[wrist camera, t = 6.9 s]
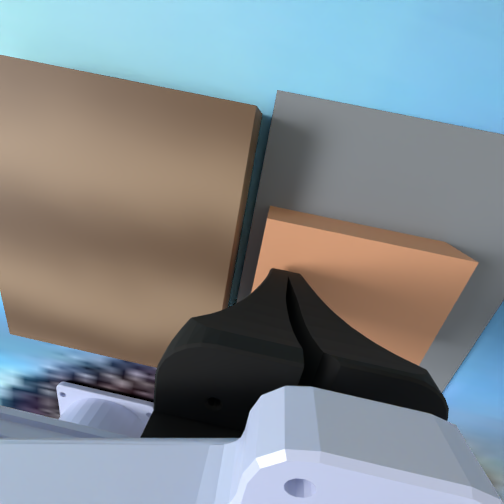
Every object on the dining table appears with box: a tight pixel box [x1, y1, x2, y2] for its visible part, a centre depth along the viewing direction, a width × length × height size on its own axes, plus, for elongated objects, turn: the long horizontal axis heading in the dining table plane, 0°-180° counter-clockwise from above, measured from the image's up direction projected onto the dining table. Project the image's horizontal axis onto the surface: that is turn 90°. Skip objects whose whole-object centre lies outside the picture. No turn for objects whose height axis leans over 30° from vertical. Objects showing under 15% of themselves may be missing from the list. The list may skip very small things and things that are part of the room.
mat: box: [236, 90, 504, 393], centre depth 15 cm, size 16×14×1 cm
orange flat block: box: [251, 206, 479, 366], centre depth 14 cm, size 6×9×2 cm, turn 79°
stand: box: [0, 55, 262, 368], centre depth 14 cm, size 14×12×3 cm
